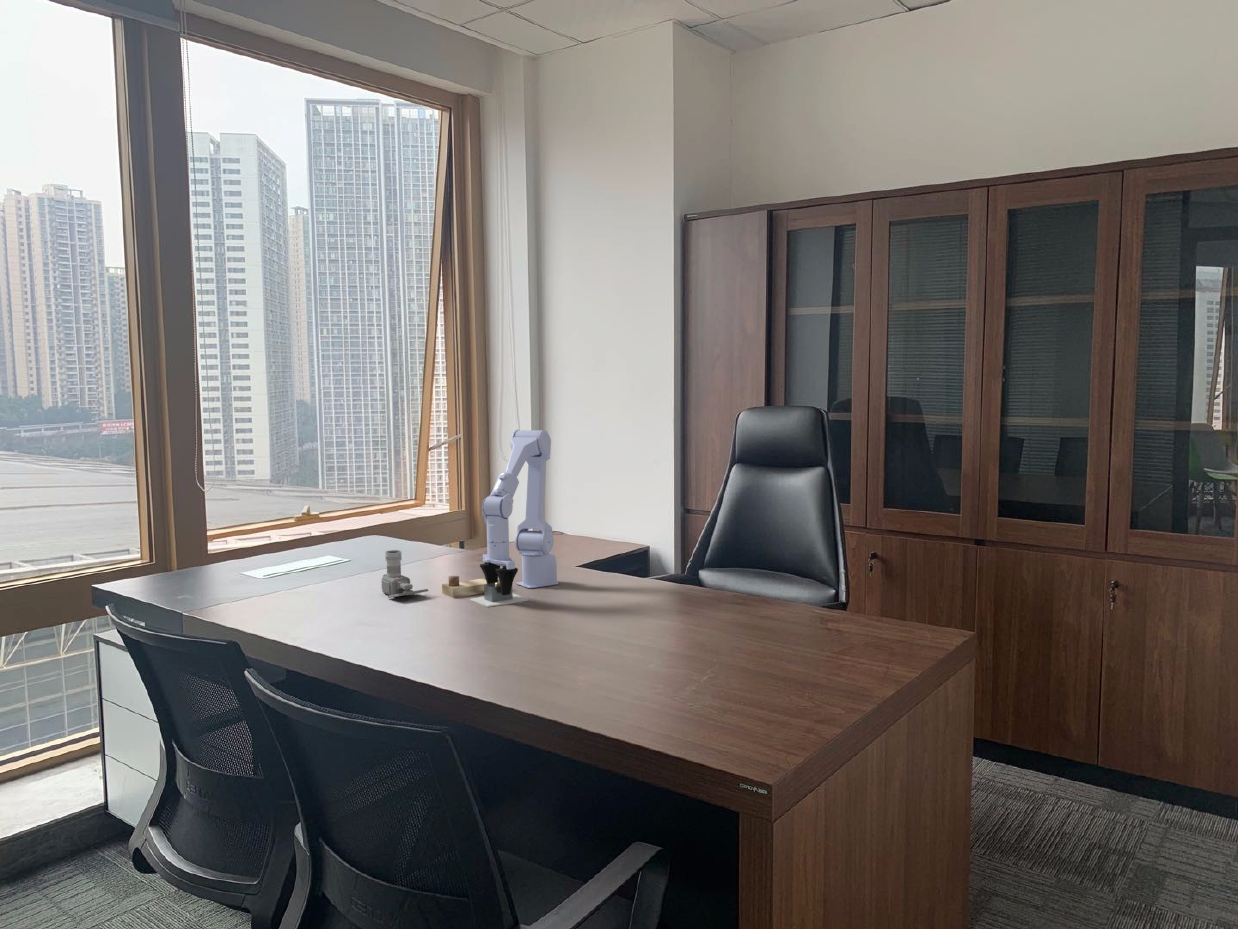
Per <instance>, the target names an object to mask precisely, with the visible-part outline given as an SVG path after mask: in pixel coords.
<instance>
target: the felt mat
mask: <svg viewBox="0 0 1238 929" xmlns="http://www.w3.org/2000/svg"><path fill="white" fill-rule="evenodd" d="M512 594H513V599H510V600H503V601H497V602H490V601H488V600H485V599H484V596H480V597H479V596H478V597H473V598H470V601H471V602H474V603H476V604H478V605H481V606H483V607H486V608H490V607H497V606H503V605H509V604H516V603H522V602H528V601H529V598H527V597H525V596H521V595H519V594H516V593H514V592H512Z"/></svg>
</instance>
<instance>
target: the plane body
mask: <svg viewBox="0 0 1238 929" xmlns="http://www.w3.org/2000/svg"><path fill="white" fill-rule="evenodd" d="M498 582H500V581H499V579H498ZM484 584H487V582H486V578H485V577H483V578H476V579H470V580H463V581H462V580H461V581H460V576H459V575H450V576H448V583H443V584H441V592H442V593H441V594H443V595H445V596H447V597H450V598H452V599H453V598H462V597H469V596H474V595H475V596H476V595H481V594H484Z"/></svg>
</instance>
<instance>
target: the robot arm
mask: <svg viewBox="0 0 1238 929" xmlns="http://www.w3.org/2000/svg"><path fill="white" fill-rule="evenodd" d="M509 444H510V448H511V452H510V455H509V457H508V458H509V459H508V461H507V465H506V467H505V471H504V472H502V473H500V474H498V477H497V479H496V480H495V484H494V486H493V489H492V491H491V493H490V495H488V496H487V497H485V498H484V499H483V501H482V505H481V506H482V507H481V513H482V516H483V519H484V524H485V525H486V548H487V553H482V562H484V563H481V564H479V568H480V569H481V570H482V573H483V575H484V578H486V582H487V584H489V583H495V582H498V580H499V581H500V587H501V593H502V595H510V592H511V588H512V589H513V584H514V583H513V582H514V579H515V577H516V576H517V573H518V571H519V568H518V567H516V561H514V560H513V559H512V558H511V556H510V530H509V529H510V528H509V518H510V516H511V515H512V513H513V507H514V506H513V504H514V496H515V494H516V492H517V489H518V486H519V485H520V481H519V478H518V476H519V475H520V473H521V470H522V468H523V467H524V465H525V463H527V464H528V466H527V482H526V484H527V485H526V500H525V502H526V504H525V505H526V506H525V519H524V520H523V521H522V522H521V523H519V524H518V525H517V529H516V534H515V536H514V546H515V548H516V551H518V553H519V555H521V575H522V576H521V579H522V581H517V582H516V585H519V586H521V587H525V588H527V589H533V588H535V589H536V588H541V587H547V586H548V587H549V586H553V585H559V581H558V572H557V570H558V569H557V559H556V555H555V554H554V553H553V552H552V549H553V547H554V536H553V527H552V526H551V525H550V524H549V523H548V522H547V521H546V520H545V519H544V516H545V514H544V512H545V498H546V497H545V493H546V491H545V490H546V473H547V461H548V460H550V458H551V449H552V448H551V445H552V439H551V437H550V434H549V432H548V431H547V430H545V429H541V430H533V429H531V430H527V429H525V430H520V429H515V430H513V431H512V434H511V436H510V443H509ZM532 529H533V530H532ZM501 567H502V568H501Z"/></svg>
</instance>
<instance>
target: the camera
mask: <svg viewBox="0 0 1238 929" xmlns="http://www.w3.org/2000/svg"><path fill="white" fill-rule="evenodd" d="M402 560H403V559H402V550H399V549H394V550H393V549H392V550H387V551H385V562H386V573H385V574H383V575H382V577H381V590H382V593H383V594H385V595H388V597H387V598H388V599H392V598H400V597H404V596H405V595H406V596H411V595H416V594H422V593H426V592H429V591H430V590H429V589H428V588H424V589H420V590H413V586H414V585H413V583H412V584H411V579H410V578H409V577H407V576H405V575H402V569H401V568H402V566H401V563H402V562H401V561H402ZM406 596H405V597H406Z"/></svg>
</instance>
